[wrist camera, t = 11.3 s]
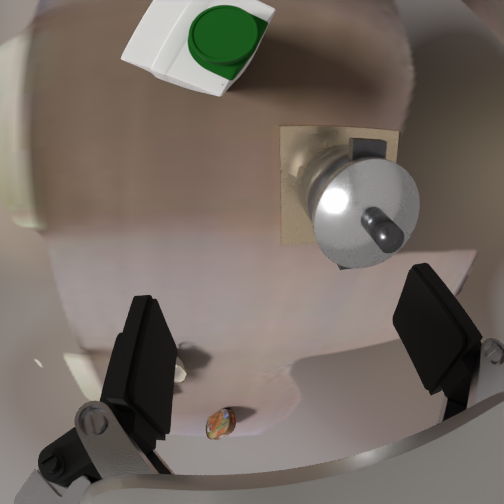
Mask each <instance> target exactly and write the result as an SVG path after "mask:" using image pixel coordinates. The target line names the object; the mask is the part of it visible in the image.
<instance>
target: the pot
mask: <svg viewBox="0 0 504 504" xmlns="http://www.w3.org/2000/svg"><path fill="white" fill-rule="evenodd" d="M398 139H399V131H397V130H388V129H378V128H365V127H349V126H320V125H292V126H279V154H280V207H281V245H292V244H304V243H315V242H317V240H316V238H315V236H314V232H313V227H312V212H313V207H314V203H315V200H316V198H317V195H318V193H319V191H320V189H321V188H322V186H323V185H324V183H325V182H326V180H327V179H328V178H329V177H330V176H331V175H332V174H333V173H334V172H335V171H336V170H338V169H339V168H340V167H342V166H343V165H345V164H347V163H349V162H351V161H353V160H356V159H359V158H364V157H381V158H385V159H388V160H390V161H393V162H394V163H396V160H397V150H398ZM337 265H338V264H337ZM338 267H339V269H340V270H343V269H351V268H348V267H344V266H341V265H338Z"/></svg>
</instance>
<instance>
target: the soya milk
mask: <svg viewBox="0 0 504 504" xmlns="http://www.w3.org/2000/svg"><path fill="white" fill-rule="evenodd" d="M275 12H276V10H275V9H274V8H272V7H270V6H268V5H266V4H264V3H262V2H260V1H258V0H153V2H152V4H151V5H150V7H149V8H148V10H147V11H146V13H145V15H144V16H143V18H142V20H141V21H140V23H139V25H138V27H137V28H136V30H135V32H134V34H133V35H132V37H131V39H130V41H129V43H128V45H127V47H126V49H125V51H124V53H123V55H122V57H121V59H122V60H124V61H126V62H129V63H131V64H134V65H136V66H138V67H141V68H143V69H145V70H147V71H149V72H151V73H153V75H154V76H155V77H157V78H159V79H161V80H164V81H167V82H170V83H173V84H175V85H178V86H181V87H184V88H188V89H191V90H194V91H198V92H202V93H207V94H211V95H215V96H222V95H223V94H224V93H225V92H226V91H227V89H228V88H229V87H230V86H231V85H232V84H233V83H234V82H236V81H237V80H238V78H239V77H240V76H241V75H242V73H243V72H244V71H245V69H246V68H247V66H248V65H249V63H250V62H251V60H252V58H253V57H254V55H255V53H256V51H257V49H258V47H259V45H260V42H261V40H262V38H263V36H264V34H265V32H266V30H267V27H268V25H269V23H270V21H271V19H272V17H273V15H274V13H275Z"/></svg>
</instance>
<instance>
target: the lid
mask: <svg viewBox="0 0 504 504" xmlns="http://www.w3.org/2000/svg"><path fill="white" fill-rule="evenodd" d="M419 210H420V198H419V193H418V189H417V186H416V184H415V181H414V180H413V178H412V177H411V175H410V174H409V173H408V172H407V171H406V170H405V169H404V168H402V167H401V166H400V165H398V164H396V163H394V162H393V161H390V160H388V159H385V158H381V157H364V158H359V159H356V160H353V161H351V162H349V163H347V164H345V165H343V166H342V167H340V168H339V169H338V170H336V171H335V172H334V173H333V174H332V175H331V176H330V177H329V178H328V179H327V180H326V182H325V183H324V185H323V186H322V188H321V189H320V191H319V193H318V195H317V198H316V200H315V203H314V207H313V212H312V227H313V232H314V236H315V238H316V240H317V242H318V244H319V246H320V248H321V250H322V251H323V253H324V254H325V255H326V256H327V257H328V258H329V259H330V260H332V261H333V262H335V263H336V264H338V265H341V266H344V267H348V268H365V267H370V266H374V265H377V264H379V263H381V262H383V261H385V260H387V259H388V258H390V257H391V256H393V255H394V254H395V253H396V252H398V251H399V250H400V249H401V248H402V247H403V246H404V244H405V243H406V242H407V240H408V239H409V237H410V236H411V234H412V232H413V230H414V228H415V226H416V223H417V220H418V216H419Z"/></svg>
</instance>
